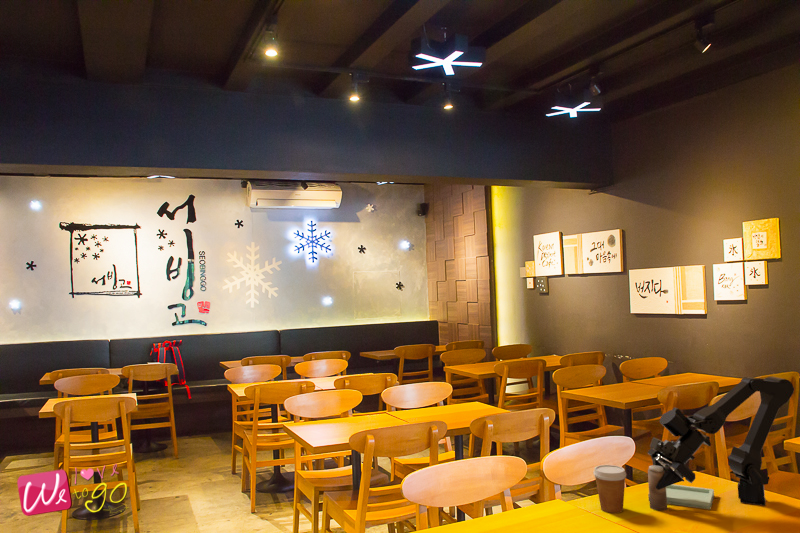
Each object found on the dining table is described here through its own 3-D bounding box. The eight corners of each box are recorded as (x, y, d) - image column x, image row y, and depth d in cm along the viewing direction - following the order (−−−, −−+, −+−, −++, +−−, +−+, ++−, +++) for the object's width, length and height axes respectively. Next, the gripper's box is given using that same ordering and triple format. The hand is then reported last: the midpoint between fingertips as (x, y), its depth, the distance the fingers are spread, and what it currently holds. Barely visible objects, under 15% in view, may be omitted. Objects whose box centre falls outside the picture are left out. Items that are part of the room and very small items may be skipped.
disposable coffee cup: (631, 515, 173) (628, 474, 173) (597, 514, 175) (594, 473, 175) (625, 504, 182) (623, 464, 182) (593, 503, 184) (591, 464, 184)
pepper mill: (668, 506, 179) (665, 466, 179) (666, 511, 174) (663, 470, 175) (651, 503, 181) (649, 464, 182) (648, 509, 177) (646, 468, 178)
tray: (714, 495, 185) (713, 489, 185) (710, 509, 174) (709, 502, 174) (655, 488, 194) (655, 482, 195) (648, 501, 183) (648, 494, 184)
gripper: (651, 422, 188) (619, 459, 187) (682, 435, 170) (647, 477, 169) (677, 445, 188) (645, 482, 187) (710, 462, 170) (676, 503, 169)
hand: (652, 485), depth 178 cm, fingers closed on pepper mill, 5 cm apart
